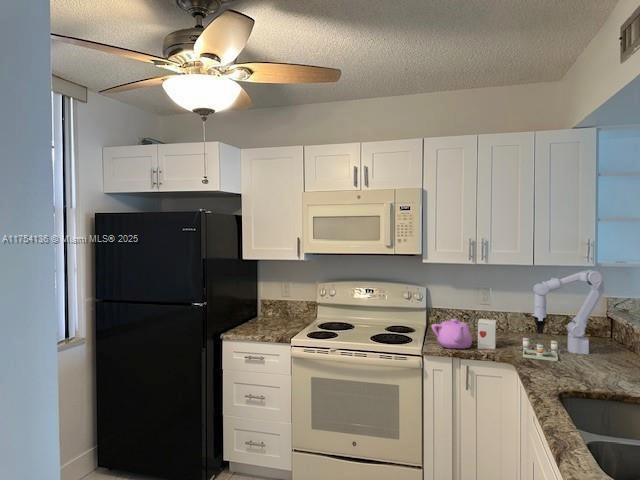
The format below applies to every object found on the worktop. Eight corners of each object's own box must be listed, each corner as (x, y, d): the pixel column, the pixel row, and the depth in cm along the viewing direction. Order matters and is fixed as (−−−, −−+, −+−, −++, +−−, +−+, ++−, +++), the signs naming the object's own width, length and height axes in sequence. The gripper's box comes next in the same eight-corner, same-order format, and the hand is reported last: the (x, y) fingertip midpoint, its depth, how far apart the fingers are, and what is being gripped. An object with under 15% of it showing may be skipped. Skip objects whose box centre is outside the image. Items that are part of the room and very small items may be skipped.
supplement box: (477, 349, 230) (477, 321, 230) (478, 345, 238) (478, 318, 238) (495, 351, 226) (495, 322, 226) (496, 347, 235) (496, 319, 234)
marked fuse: (543, 356, 215) (543, 344, 214) (543, 358, 212) (543, 345, 212) (536, 355, 216) (536, 343, 216) (536, 357, 213) (536, 345, 213)
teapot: (427, 342, 244) (427, 316, 244) (464, 342, 244) (465, 316, 244) (438, 353, 221) (438, 324, 221) (479, 353, 221) (479, 324, 221)
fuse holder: (560, 354, 221) (560, 349, 221) (561, 357, 216) (561, 352, 216) (519, 349, 230) (519, 344, 230) (519, 352, 224) (519, 347, 224)
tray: (556, 357, 215) (556, 352, 215) (557, 363, 205) (557, 358, 205) (523, 353, 222) (523, 349, 222) (522, 358, 212) (522, 354, 212)
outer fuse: (529, 349, 226) (529, 337, 226) (529, 350, 224) (529, 339, 224) (522, 348, 228) (522, 337, 228) (522, 350, 225) (522, 338, 225)
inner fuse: (557, 352, 220) (557, 340, 220) (557, 353, 218) (557, 342, 218) (550, 351, 222) (550, 340, 222) (550, 353, 219) (550, 341, 219)
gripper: (531, 303, 235) (531, 328, 235) (531, 308, 222) (531, 334, 222) (546, 304, 232) (545, 329, 232) (547, 309, 219) (547, 335, 219)
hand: (540, 332), depth 227 cm, fingers open, 7 cm apart
